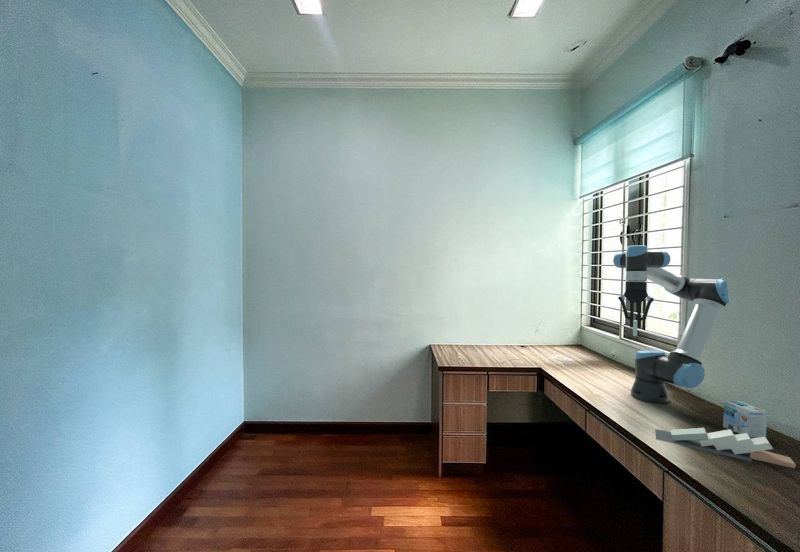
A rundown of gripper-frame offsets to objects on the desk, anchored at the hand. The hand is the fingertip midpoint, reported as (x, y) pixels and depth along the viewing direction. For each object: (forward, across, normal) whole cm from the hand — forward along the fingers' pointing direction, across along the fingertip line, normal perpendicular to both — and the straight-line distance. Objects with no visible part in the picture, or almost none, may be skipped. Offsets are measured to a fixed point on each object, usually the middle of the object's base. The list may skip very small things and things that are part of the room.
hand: (635, 335), depth 148 cm
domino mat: (+34, +20, -19) cm, 44 cm away
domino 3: (+33, +24, -19) cm, 45 cm away
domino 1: (+33, +12, -19) cm, 40 cm away
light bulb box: (+35, +35, +4) cm, 49 cm away
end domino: (+33, +32, -19) cm, 49 cm away
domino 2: (+33, +20, -19) cm, 42 cm away
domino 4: (+33, +28, -19) cm, 47 cm away
